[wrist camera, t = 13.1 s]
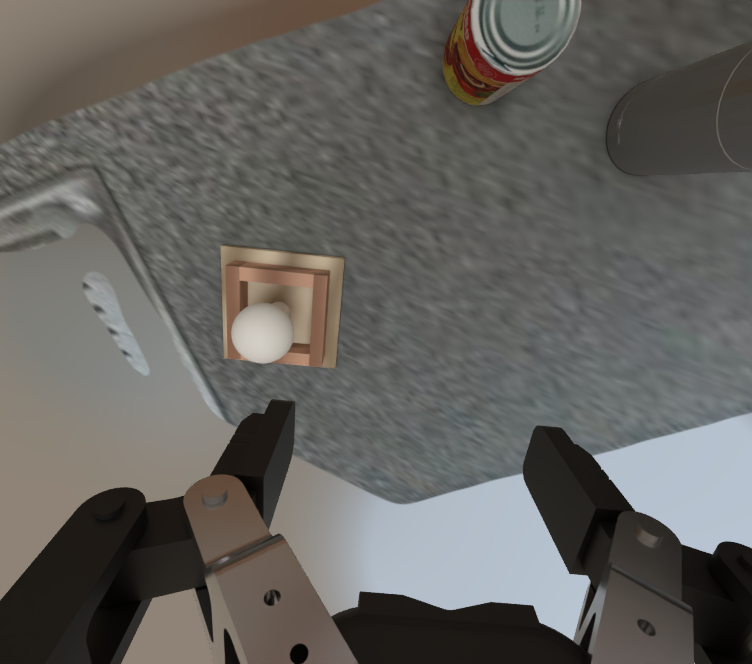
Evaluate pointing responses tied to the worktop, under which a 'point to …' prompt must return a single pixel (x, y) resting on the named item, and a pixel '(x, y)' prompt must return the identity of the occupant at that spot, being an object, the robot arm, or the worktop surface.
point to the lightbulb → (263, 332)
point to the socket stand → (286, 298)
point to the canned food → (505, 45)
